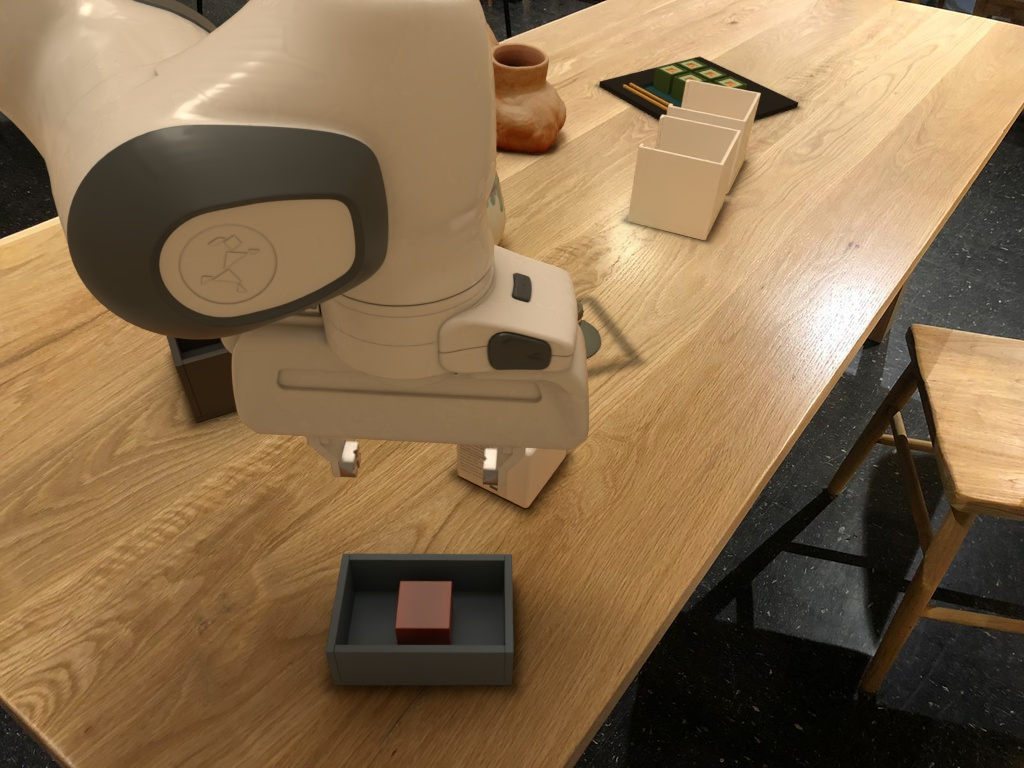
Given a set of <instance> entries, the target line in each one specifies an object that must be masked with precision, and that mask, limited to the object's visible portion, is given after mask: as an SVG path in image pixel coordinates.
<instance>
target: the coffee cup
mask: <svg viewBox="0 0 1024 768" xmlns="http://www.w3.org/2000/svg"><path fill="white" fill-rule="evenodd" d="M577 310H578V324H579V326H580V328H581V330H582V333H583V336H584V340H585V347H586V357H587V359H588V358H591V357H592V356H593V355H594V354H596V353H597V352H598V350H599V349H600V347H601V343H602V337H601V334H600V332H599V331H598V329H597V328H596V327H595V326H594V325H593V324H591V323H589V322H588V321H586V320H583V319H582V318H583V316H584V313H585V311H584V306H583V304H582V303H581V302H580V301H579V300H577Z"/></svg>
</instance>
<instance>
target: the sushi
mask: <svg viewBox="0 0 1024 768" xmlns="http://www.w3.org/2000/svg"><path fill="white" fill-rule="evenodd" d="M688 79H689V80H694V81H699V82H705V83H710V84H715V85H720V86H726V87H731V88H736V89H741V90H747V91H752V92H757V93H761V94H760V98H759V102H758V106H757V110H756V114H755V118H754V122H755V121H757V120H761V119H764V118H768V117H770V116H775V115H777V114H780V113H783V112H787V111H790V110H793V109H796V108H798V106H799V102H798V101H797V100H795V99H792V98H790V97H788V96H785V95H784V94H781V93H780V92H777V91H775V90H773V89H771V88H768V87H766V86H764V85H762V84H760V83H758V82H756V81H753V80H752V79H749V78H748V77H746V76H744V75H741V74H738V73H736V72H734V71H732V70H730V69H728V68H725V67H724V66H721V65H720V64H717V63H715V62H713V61H711V60H708V59H706V58H704V57H702V56H700V55H699V56H696V57H692V58H688V59H683V60H680V61H676V62H672V63H668V64H663V65H660V66H656V67H655V66H654V67H651V68H647V69H643V70H639V71H635V72H631V73H627V74H624V75H619V76H616V77H612V78H608V79H604V80H600V81H599V85H598V87H599V88H602V89H603V90H605V91H607V92H608V93H610V94H612V95H614V96H616V97H617V98H619V99H621V100H623V101H624V102H626V103H628V104H629V105H631V106H633V107H635V108H637V109H639V110H640V111H642V112H644V113H646V114H647V115H649V116H651V117H653V118H655V120H657V121H659V120H660V117H661V115H667V110H668V106H669V104H670V103H671V104H673V106H675V107H680V108H681V106H682V100H683V95H684V90H685V84H686V81H687V80H688Z"/></svg>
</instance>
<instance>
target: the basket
mask: <svg viewBox="0 0 1024 768" xmlns="http://www.w3.org/2000/svg"><path fill="white" fill-rule="evenodd" d="M165 337H166V341H167V343H168V347H169V350H170V354H171V356H172V360H173V363H174V367H175V370H176V372H177V376H178V378H179V380H180V381H179V382H180V383H181V385H182V388H183V389H182V390H183V391H184V395H185V397H186V400H187V402H188V405H189V407H190V411H191V413H192V415H193V418H194V421H195V423H201V422H203V421H207V420H210V419H214V418H217V417H220V416H224V415H227V414H231V413H233V412H237V408H236V403H235V398H234V391H233V382H232V353H230V352H229V351H228V350H227V349H226V348H225V346H224V345H223V343H222V341H221V338H216V339H183V338H176V337H169V336H165Z"/></svg>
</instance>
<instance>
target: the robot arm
mask: <svg viewBox="0 0 1024 768" xmlns="http://www.w3.org/2000/svg"><path fill="white" fill-rule="evenodd" d="M486 22H487V20H486V16H485V12H484V9H483V6H482V4H481V1H480V0H248V2H246V3H245V4H244V6H242V8H240V9H239V10H237V12H236V13H234V14H233V15H232V16H231V17H230V18H229V19H227V20H226V21H225V22H223V23H222V24H221V25H219V26H218V27H217V26H216V25H215V24H214V23H213V22H211V21H210V20H209V19H208V18H206V17H205V16H203V15H202V14H201V13H199V12H198V11H196V10H195V9H193V8H191V7H190V6H187V5H186V4H184V3H182V2H180V1H177V0H0V112H1V113H2V115H4V116H6V117H7V118H8V119H9V120H10V121H11V122H12V123H13V124H14V125H15V126H16V127H17V128H18V129H19V130H20V131H21V132H22V133H23V134H24V135H25V137H26V138H27V139H28V140H29V141H30V143H31V144H32V145H33V146H34V147H35V148H36V150H37V151H38V152H39V154H40V156H41V157H42V158H43V160H44V162H45V166H46V169H47V172H48V176H49V181H50V187H51V194H52V197H53V201H54V204H55V208H56V212H57V216H58V218H59V223H60V225H61V228H62V231H63V234H64V237H65V240H66V243H67V248H68V251H69V256H70V259H71V262H72V265H73V267H74V269H75V271H76V273H77V276H78V277H79V279H80V281H81V282H82V283H83V285H84V287H85V288H86V289H87V290H88V291H89V293H90V294H91V295H92V296H93V298H94V299H96V300H97V301H98V302H99V304H101V305H102V306H103V307H105V308H106V309H107V310H108V311H109V312H111V313H112V314H113V315H115V316H116V317H118V318H119V319H121V320H123V321H125V322H127V323H128V324H131V325H132V326H135V327H137V328H139V329H142V330H145V331H148V332H150V333H153V334H157V335H160V336H165V337H166V336H169V337H176V338H183V339H216V338H221V341H222V343H223V345H224V346H225V348H226V349H227V350H228V351H229V352H230V353H232V382H233V391H234V398H235V403H236V408H237V411H236V413H237V416H238V419H239V421H240V422H241V423H242V424H243V425H245V426H246V427H247V428H249V429H250V430H251V431H253V432H254V433H255V434H260V435H272V436H275V435H276V436H290V437H291V436H293V437H294V436H295V437H296V436H297V437H305V438H306V443H307V445H309V446H310V447H311V448H312V450H315V452H317V453H318V454H319V455H320V456H322V457H323V458H324V459H325V461H327V462H329V464H330V469H331V473H332V477H333V478H355V479H358V476H359V469H360V468H361V463H362V453H361V452H360V449H361V447H360V442H359V440H368V441H369V440H371V441H388V442H406V443H407V442H408V443H424V444H426V443H428V444H443V445H444V444H445V445H457V444H462V445H481V446H499V447H498V449H494V448H485V453H484V463H483V485H496V486H506V473H507V471H508V470H509V469H511V468H512V467H513V466H514V465H515V464H516V463H517V462H518V461H519V460H520V459H521V458H522V457H524V456H525V450H526V448H538V449H556V450H566V451H572V450H574V449H576V448H577V447H579V446H580V445H581V444H583V443H584V442H586V440H587V439H588V438H589V432H590V389H589V388H590V387H589V372H588V371H589V370H588V360H587V359H588V358H587V357H586V347H585V340H584V336H583V333H582V330H581V328H580V326H579V324H578V310H577V301H578V300H577V294H576V289H575V285H574V281H573V277H572V275H571V274H570V272H569V271H568V270H566V269H564V268H561V267H560V266H556V265H553V264H550V263H547V262H544V261H542V260H539V259H534V258H532V257H529V256H527V255H523V254H521V253H519V252H515V251H512V250H510V249H507V248H504V247H502V246H500V245H495V244H494V240H493V235H492V232H491V228H490V226H489V223H488V218H487V203H488V199H489V196H490V193H491V190H492V187H493V184H494V180H495V174H496V171H497V150H496V98H495V81H494V70H493V59H492V52H491V45H490V39H489V34H488V28H487V24H488V22H487V23H486ZM346 439H350V440H346ZM355 440H358V441H355Z"/></svg>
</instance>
